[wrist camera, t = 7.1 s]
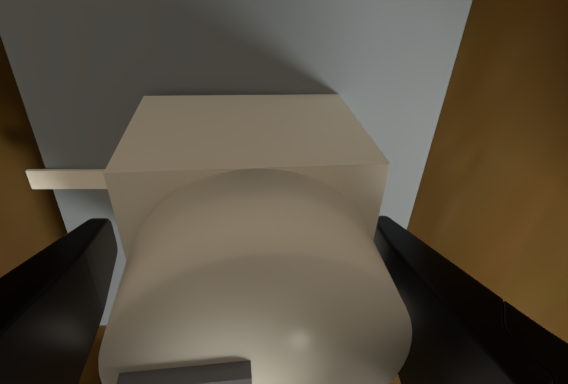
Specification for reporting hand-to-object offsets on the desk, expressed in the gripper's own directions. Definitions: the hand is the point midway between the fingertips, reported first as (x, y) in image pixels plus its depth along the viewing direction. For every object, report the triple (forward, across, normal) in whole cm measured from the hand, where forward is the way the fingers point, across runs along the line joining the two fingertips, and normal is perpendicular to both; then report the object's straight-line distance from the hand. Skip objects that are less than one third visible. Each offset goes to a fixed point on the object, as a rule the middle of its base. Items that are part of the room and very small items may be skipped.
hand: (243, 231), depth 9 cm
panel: (+4, 0, 0) cm, 4 cm away
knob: (+2, 0, 0) cm, 2 cm away
